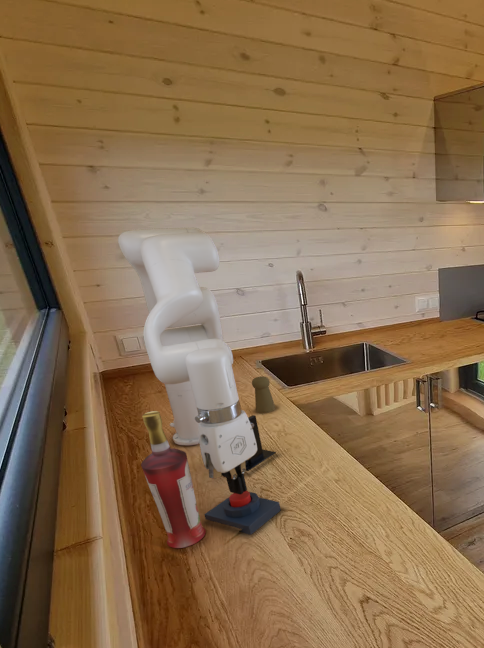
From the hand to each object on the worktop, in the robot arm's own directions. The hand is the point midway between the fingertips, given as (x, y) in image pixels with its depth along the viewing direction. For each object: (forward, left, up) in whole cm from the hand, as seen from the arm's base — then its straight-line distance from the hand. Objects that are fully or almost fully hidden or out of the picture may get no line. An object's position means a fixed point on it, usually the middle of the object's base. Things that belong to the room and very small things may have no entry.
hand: (238, 491), depth 102 cm
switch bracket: (-16, +19, -7) cm, 26 cm away
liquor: (-5, -10, -7) cm, 13 cm away
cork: (-37, +48, -7) cm, 61 cm away
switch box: (0, 0, -7) cm, 7 cm away
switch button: (0, 0, -3) cm, 3 cm away
